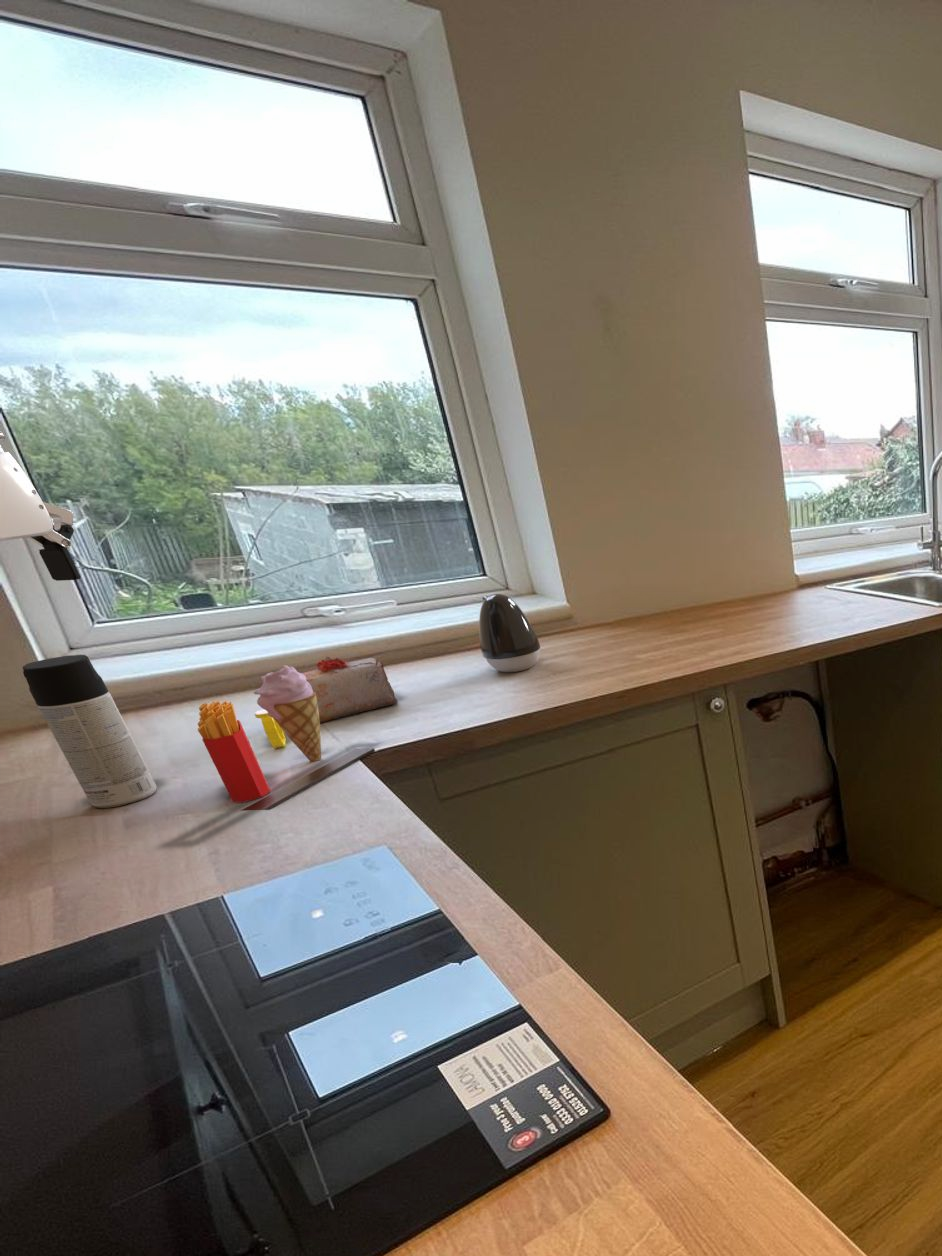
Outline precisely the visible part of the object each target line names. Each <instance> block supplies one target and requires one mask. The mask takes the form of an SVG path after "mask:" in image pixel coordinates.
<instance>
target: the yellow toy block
mask: <svg viewBox="0 0 942 1256" xmlns="http://www.w3.org/2000/svg"><path fill="white" fill-rule="evenodd" d="M254 716H255V718H256V719H260V720H261V723H262V727H263V729H264V732H265V735H266V737H267V739H268V741H269V743H270V745H271V746H272V748H273V749H280V748H285V747H286V742H287V739H286V736H285V735H286V734H285V732H284V731H283V730H282V729H281V727H280V726H279V725H278V724H277V722H276V721H275V720H274V718H273V717H270V716H269V714H268V712H267V711H266V710H264V709H263V708H261V709H259V710H257V711H255V712H254Z"/></svg>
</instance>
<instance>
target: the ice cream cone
mask: <svg viewBox="0 0 942 1256" xmlns="http://www.w3.org/2000/svg"><path fill="white" fill-rule="evenodd" d="M301 673H302V672H298V671H297V669H296V668H295V667H294V666H289V665H286V664H283V665H282V668H281V669H280V670H276V671H275V672H272V671H270V672H268V673H266V675H263V676H260V680H261V682H262V685H261V686H260V688H257V689H255V690H254V692H253V694H254V695H259V697H258V698H257V700H256V702H257V705H258V706H259V707H260V708H261V709H264V710H266V711H267V712H268V714H269V716H270V717H273V718H274V720H275V721H276V722H277V724H278V725H279V726H280V727H281V729H282V730H283V732H284V734H285V735H286V736H287V737H288V739H290V741H291V742H292V743H293V744H294V745H295V746H296V747H297V748H298V750H299V751H300V752H301V753H302V754H303V756H305V757H306V759H307V760H308V761H309V762H317V761H320V760H321V759H322V744H321V743H322V740H321V739H322V738H321V723H320V721H319V711H318V705H317V698H316V692H313V690H312V687H311V685H310V684H309V683H308V682H307V681H306V677H305V676H304V675H303V674H301Z"/></svg>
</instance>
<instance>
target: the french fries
mask: <svg viewBox="0 0 942 1256" xmlns="http://www.w3.org/2000/svg"><path fill="white" fill-rule="evenodd" d="M198 709H199V713H198V715H199V718H198V719H199V721H198V723H197V726H198V728H197V731H198V733H199V734H200V736H201V738H202V740H201V741H202V742H203V744H204V746H205V748H206V750H207V752H208V754H209V756H210V759H211V760H212V763H213V764H214V767H215V768H216V771H217V773H218V775H219V777H220V779H221V781H222V783H223V785H224V787H225V789H226V791H227V793H228V795H229V798H230V800H231V802H232V803H246V802H248V801H252V800H256V799H260V798H264V797H265V796H267V795H269V793H270V792H271V790H270V789H271V788H270V787H269V784H268V782H267V779H266V777H265V774H264V772H263V770H262V768H261V765H260V764H259V761H258V759H257V757H256V755H255V751H254V750H253V747H252V745H251V743H250V740H249V738H248V736H247V734H246V732H245V729H244V727H243V725H242V723H241V721H240V720H239V719H237V715H236V711H235V708H234V704H233V702H232V701H229V702H228V700H225V701H223V702H222V703H221V702H220V700H218V701H216V702H215V701H212V702H211V703H209V704H208V703H207V702H204V703H202V704H201V705H200V706H199V707H198Z"/></svg>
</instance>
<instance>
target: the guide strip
mask: <svg viewBox="0 0 942 1256" xmlns="http://www.w3.org/2000/svg"><path fill="white" fill-rule="evenodd" d="M374 752H376V750H375V747H374V748H373V747H371V748H368V747H367V748H353V749H352V750H351V751H349V752H346V753H344V754H342V755H341V756H339V757H337V758H336V759H334V760H331V761H330V762H328V763H326V764H325V765H323V766H320V767H319V768H317V769H315V770H313V771H311V772H310V773H308V774H306V775H303V776H301V777H300V778H298V779H296V780H294V781H293V782H290V783H289V784H287V785H285V786H283V787H281V788H279V789H278V790H276V791H273V792H272V793H270V794H267V795H266V796H264V797H262V798H261V799H259V800H257V801H255V802H254V803H252V804H250V805H248V806H246V807H244V808H242V809H240V812H245V811H246V812H247V811H248V812H249V811H269V810H272V809H273V808H275V807H277V806H279V805H281V804H283V803H284V802H286V801H288V800H290V799H291V798H293V797H295V796H297V795H298V794H300V793H302V792H304V791H305V790H307V789H309V788H311V787H313V786H315V785H316V784H319V783H320V782H323V781H324V780H325V779H327V778H330V777H331V776H333V775H334V774H336V773H338V772H340V771H342V770H344V769H345V768H347V767H350V766H351V765H353V764H354V763H356V762H358V761H359V760H361V759H364V758H365V757H367V756H369V755H370V754H372V753H374Z"/></svg>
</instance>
